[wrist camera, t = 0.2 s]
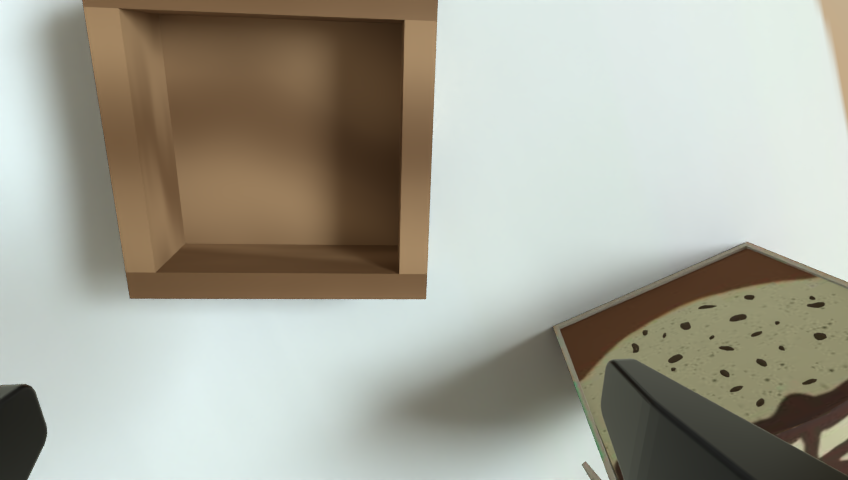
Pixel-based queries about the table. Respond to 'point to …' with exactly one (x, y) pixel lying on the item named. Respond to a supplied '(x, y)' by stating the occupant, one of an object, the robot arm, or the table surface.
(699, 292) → the food container
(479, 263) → the table surface
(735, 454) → the robot arm
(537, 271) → the table surface
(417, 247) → the holder
